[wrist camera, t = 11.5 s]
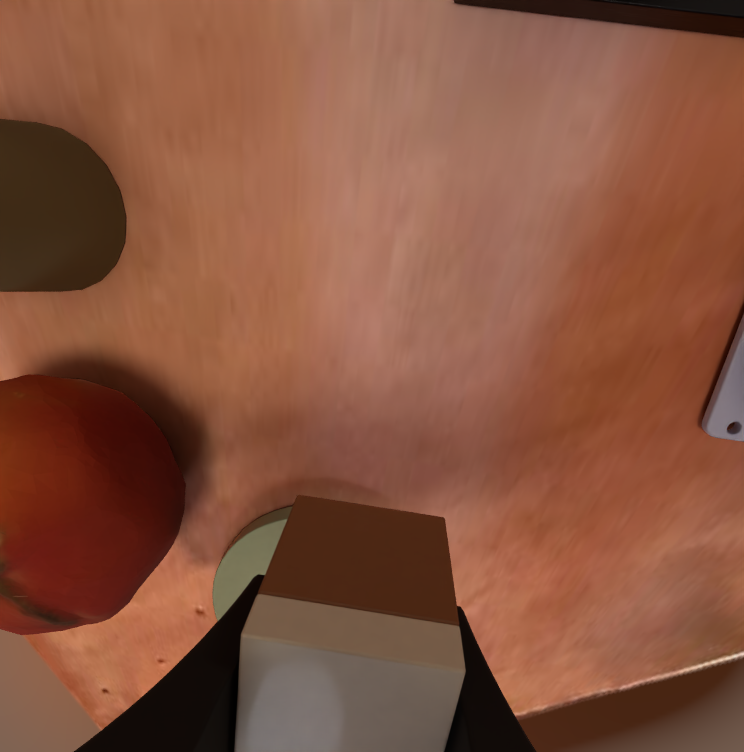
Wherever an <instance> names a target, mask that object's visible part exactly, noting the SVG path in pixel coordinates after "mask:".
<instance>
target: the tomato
mask: <svg viewBox="0 0 744 752" xmlns="http://www.w3.org/2000/svg"><path fill="white" fill-rule="evenodd" d="M185 487H186V483H185V481H184V479H183V476H182V474H181V472H180V469H179V467H178V465H177V464H176V462H175V459H174V457H173V454H172V451H171V448H170V446H169V444H168V442H167V440H166V437H165V436H164V435H163V433H162V432H161V430H160V429H159V427H158V426H157V425H156V424H155V422H154V421H153V420H152V418H151V417H150V416H149V415H148V414H146V413H145V412H144V411H143V410H142V409H141V408H140V407H139V406H138V405H137V404H136V403H134V402H133V401H132V400H131V399H129V398H128V397H127V396H126V395H125V394H123V393H121V392H119V391H116V390H114V389H111V388H108V387H105V386H102V385H98V384H95V383H93V382H90V381H87V380H82V379H64V378H58V377H52V376H44V375H24V376H21V377H17V378H14V379H9V380H4V381H0V629H2V630H5V631H9V632H12V633H16V634H20V635H29V634H39V633H47V632H56V631H63V630H67V629H71V628H75V627H79V626H83V625H86V624H94V623H99V622H102V621H105V620H107V619H109V618H111V617H113V616H114V615H115V614H117V613H118V612H119V611H120V610H121V609H123V608H124V607H125V606H126V605H127V604H128V603H129V602H130V600H131V599H132V597H133V596H134V594H135V593H136V592H137V590H138V589H139V587H140V586H141V585H142V584H143V583H144V581H145V580H146V579H147V578H148V577H149V575H150V574H151V573H152V572H153V571H154V569H155V568H156V567H157V566H158V565H159V563H160V562H161V561H162V559H163V558H164V557H165V556H166V554H167V553H168V551H169V550H170V548H171V547H172V545H173V543H174V541H175V539H176V537H177V535H178V533H179V529H180V525H181V521H182V517H183V513H184V506H185Z"/></svg>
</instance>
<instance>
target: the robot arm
mask: <svg viewBox="0 0 744 752" xmlns="http://www.w3.org/2000/svg"><path fill="white" fill-rule="evenodd" d="M732 422H735V424H734V426H733V427H732V428H731V429H729V430H727V427H728V425H729V424H731V423H732ZM702 428H703V430H704V431H705V432H706V433H707V434H709V435H710V436H713V437H715V438H722V439H729V440H736V441H743V442H744V314H743V317H742V319H741V322H740V324H739V327H738V330H737V332H736V335H735V337H734V340H733V343H732V345H731V348H730V350H729V353H728V355H727V358H726V361H725V363H724V366H723V368H722V371H721V374H720V376H719V379H718V381H717V384H716V386H715V389H714V392H713V394H712V397H711V399H710V402H709V405H708V407H707V410H706V412H705V415H704V418H703V420H702ZM264 576H265V575H260V574H258V575H256V576H255V577H253V579H252V580H251V581H250V583H249V584H248V586H247V587H246V588H245V589H244V591H243V592H242V593H241V595H240V596H239V597H238V598H237V600H236V601H235V602H234V603H233V604H232V606H231V607H230V608H229V609H228V610H227V612H226V613H225V614H224V615H223V616H222V617H221V618H220V620H219V621H218V622H217V623H216V624H215V625H214V626H213V627H212V628H211V630H210V631H209V632H208V633H207V634H206V635H205V636H204V637H203V638H202V639H201V641H200V642H199V643H198V644H197V645H196V646H195V647H194V648H193V649H192V650H191V651H190V652H189V653H188V654H187V655H186V656H185V657H184V658H183V659H182V660H181V661H180V662H179V663H178V664H177V665H176V666H175V667H174V668H173V669H172V670H171V671H170V672H169V673H168V674H167V675H166V676H164V677H163V678H162V679H161V680H160V681H159V682H158V683H157V684H156V685H155V686H154V687H153V688H151V689H150V690H149V691H148V692H147V693H146V694H145V695H144V696H142V697H141V698H140V699H139V700H138V701H137V702H136V703H134V704H133V705H132V706H131V707H130V708H129V709H127V710H126V711H125V712H124V713H122V714H121V715H120V716H119V717H118V718H116V719H115V720H114V721H113V722H111V723H110V724H109V725H108V726H106V727H105V728H104V729H103V730H102V731H100V732H99V733H98V734H96V735H95V736H94V737H93V738H91V739H90V740H89V741H88V742H86V743H85V744H83V745H82V746H81V747H79V748H78V749H77V750H76V751H74V752H234V746H235V729H236V711H237V693H238V676H239V658H240V641H241V633H242V630H243V628H244V625H245V623H246V620H247V618H248V616H249V613H250V611H251V608H252V606H253V603H254V601H255V598H256V596H257V595H258V591H259V588H260V586H261V584H262V581H263V579H264ZM457 612H458V619H459V628H460V633H461V640H462V647H463V655H464V662H465V669H466V672H465V676H464V680H463V684H462V687H461V691H460V695H459V699H458V702H457V706H456V710H455V714H454V717H453V721H452V725H451V729H450V732H449V736H448V740H447V744H446V747H445V751H444V752H536V750H535V749H534V747H533V746H532V744H531V742H530V741H529V739H528V737H527V736H526V734H525V732H524V731H523V729H522V727H521V726H520V724H519V722H518V720H517V719H516V717H515V715H514V714H513V712H512V710H511V708H510V706H509V705H508V703H507V701H506V699H505V697H504V695H503V694H502V692H501V690H500V688H499V686H498V684H497V682H496V680H495V678H494V676H493V674H492V672H491V671H490V669H489V667H488V665H487V662H486V660H485V658H484V656H483V654H482V652H481V650H480V648H479V646H478V644H477V641H476V639H475V637H474V635H473V632H472V630H471V628H470V625H469V623H468V621H467V618H466V616H465V613H464V611H463V610H462V608H461V607H459V606H457Z"/></svg>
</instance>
